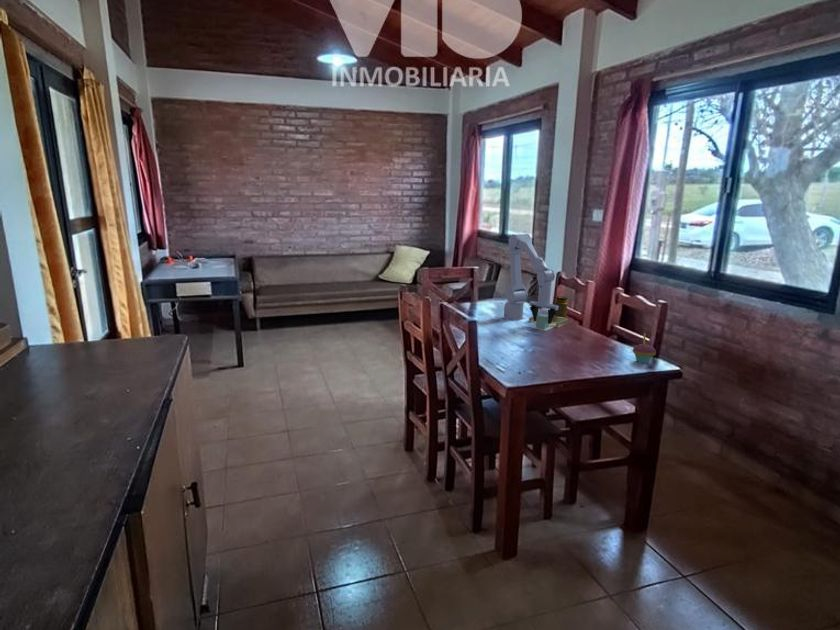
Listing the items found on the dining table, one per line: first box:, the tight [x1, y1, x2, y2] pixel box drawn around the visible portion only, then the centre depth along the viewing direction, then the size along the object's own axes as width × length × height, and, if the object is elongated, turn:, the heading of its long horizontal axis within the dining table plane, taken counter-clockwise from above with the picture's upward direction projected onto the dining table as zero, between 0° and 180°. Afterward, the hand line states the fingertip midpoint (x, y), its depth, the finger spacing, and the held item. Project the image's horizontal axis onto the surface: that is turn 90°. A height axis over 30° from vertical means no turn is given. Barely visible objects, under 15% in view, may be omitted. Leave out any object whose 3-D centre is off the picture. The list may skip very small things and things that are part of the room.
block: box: [535, 313, 550, 329], centre depth 251 cm, size 4×4×6 cm
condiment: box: [554, 295, 568, 318], centre depth 268 cm, size 7×8×12 cm
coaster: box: [530, 325, 554, 331], centre depth 252 cm, size 8×8×1 cm
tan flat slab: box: [528, 313, 570, 329], centre depth 261 cm, size 16×12×3 cm
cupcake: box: [632, 331, 657, 364], centre depth 205 cm, size 9×8×12 cm
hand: (542, 322), depth 251 cm, fingers open, 7 cm apart
